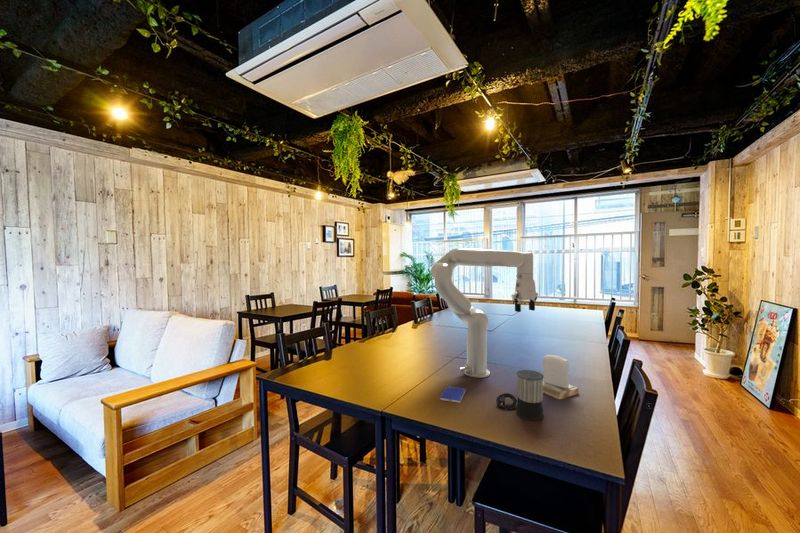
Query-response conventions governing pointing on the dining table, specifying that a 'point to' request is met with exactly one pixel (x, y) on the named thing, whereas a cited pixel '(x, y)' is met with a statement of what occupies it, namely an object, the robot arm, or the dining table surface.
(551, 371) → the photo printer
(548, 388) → the pedestal
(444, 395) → the hard drive
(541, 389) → the milk frother
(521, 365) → the dining table surface
